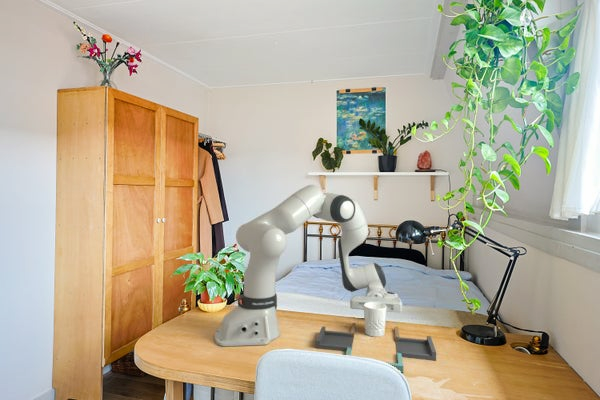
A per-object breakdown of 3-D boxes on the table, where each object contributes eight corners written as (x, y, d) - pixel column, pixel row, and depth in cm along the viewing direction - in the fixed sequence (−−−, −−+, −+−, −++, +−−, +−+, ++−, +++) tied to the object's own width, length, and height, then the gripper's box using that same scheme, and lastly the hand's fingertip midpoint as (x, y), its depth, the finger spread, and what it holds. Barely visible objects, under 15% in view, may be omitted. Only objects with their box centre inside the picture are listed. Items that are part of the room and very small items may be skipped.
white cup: (361, 335, 126) (361, 307, 126) (366, 327, 134) (366, 301, 133) (384, 339, 123) (384, 310, 123) (387, 331, 131) (388, 303, 130)
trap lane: (326, 323, 137) (326, 317, 137) (426, 332, 129) (426, 325, 129) (309, 362, 106) (309, 354, 106) (441, 377, 98) (441, 368, 98)
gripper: (351, 290, 153) (348, 300, 140) (401, 293, 149) (403, 303, 135) (350, 305, 153) (348, 316, 140) (400, 308, 149) (403, 320, 135)
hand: (375, 310), depth 137 cm, fingers closed
